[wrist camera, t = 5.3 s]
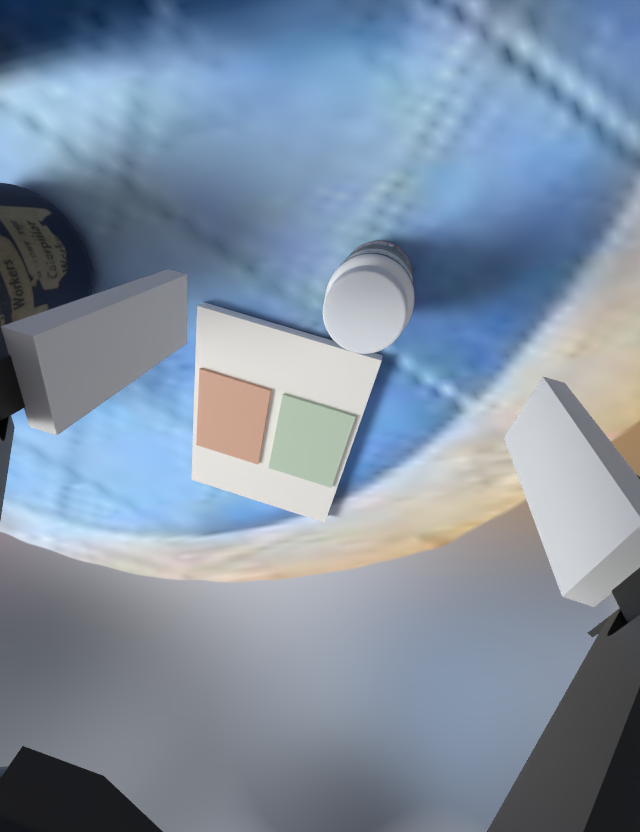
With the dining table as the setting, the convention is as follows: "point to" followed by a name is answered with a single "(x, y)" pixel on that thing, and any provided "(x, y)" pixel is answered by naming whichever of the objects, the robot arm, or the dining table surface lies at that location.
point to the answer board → (275, 410)
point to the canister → (37, 257)
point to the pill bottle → (370, 298)
